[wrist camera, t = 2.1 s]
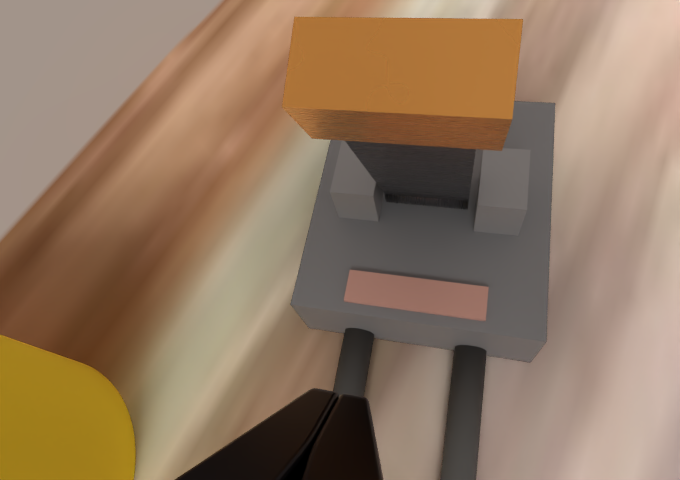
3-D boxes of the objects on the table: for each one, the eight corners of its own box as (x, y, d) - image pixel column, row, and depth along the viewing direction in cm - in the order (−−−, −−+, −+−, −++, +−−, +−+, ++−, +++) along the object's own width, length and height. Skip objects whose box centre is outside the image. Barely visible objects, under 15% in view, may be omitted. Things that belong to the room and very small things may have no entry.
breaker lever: (480, 215, 19) (512, 119, 8) (376, 205, 20) (282, 107, 9) (485, 171, 20) (522, 18, 9) (381, 163, 20) (294, 16, 9)
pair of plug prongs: (466, 577, 17) (468, 583, 16) (308, 537, 19) (300, 540, 18) (486, 340, 21) (489, 332, 20) (350, 320, 22) (345, 311, 21)
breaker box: (530, 362, 20) (559, 324, 15) (309, 328, 22) (275, 285, 17) (540, 148, 24) (566, 67, 19) (352, 136, 26) (334, 60, 21)
